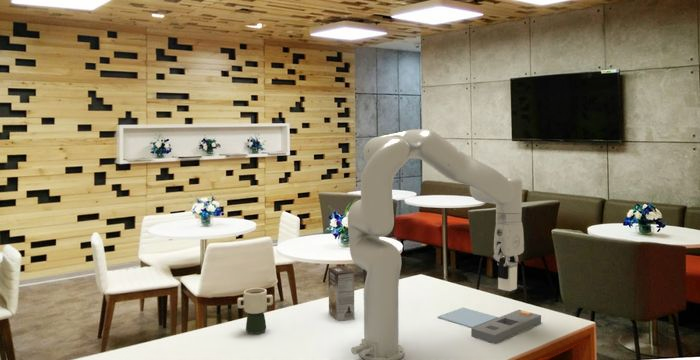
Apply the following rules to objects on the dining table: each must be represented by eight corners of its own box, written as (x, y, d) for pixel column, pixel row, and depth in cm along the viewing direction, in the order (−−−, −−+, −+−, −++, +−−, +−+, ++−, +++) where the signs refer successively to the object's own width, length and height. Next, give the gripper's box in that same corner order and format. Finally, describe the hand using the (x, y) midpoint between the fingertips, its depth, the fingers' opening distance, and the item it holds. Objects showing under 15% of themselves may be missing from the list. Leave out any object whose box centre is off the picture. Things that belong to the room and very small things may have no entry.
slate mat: (472, 328, 173) (472, 327, 173) (437, 317, 183) (437, 316, 183) (497, 318, 182) (497, 316, 182) (463, 308, 193) (463, 307, 193)
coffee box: (328, 313, 189) (327, 267, 188) (345, 311, 192) (345, 265, 190) (337, 321, 181) (336, 273, 179) (355, 319, 183) (355, 271, 182)
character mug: (271, 326, 177) (270, 286, 176) (275, 333, 170) (274, 292, 169) (237, 330, 174) (235, 289, 173) (239, 337, 167) (238, 295, 166)
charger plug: (509, 291, 168) (509, 265, 167) (497, 288, 171) (498, 263, 170) (516, 288, 170) (517, 263, 170) (505, 286, 173) (505, 261, 173)
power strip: (494, 343, 160) (494, 333, 160) (471, 336, 166) (471, 326, 166) (541, 322, 177) (541, 313, 177) (518, 316, 183) (518, 307, 183)
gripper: (503, 222, 161) (502, 284, 162) (534, 216, 172) (533, 274, 173) (482, 219, 166) (481, 279, 168) (512, 214, 177) (511, 270, 179)
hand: (507, 276), depth 170 cm, fingers closed on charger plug, 4 cm apart
